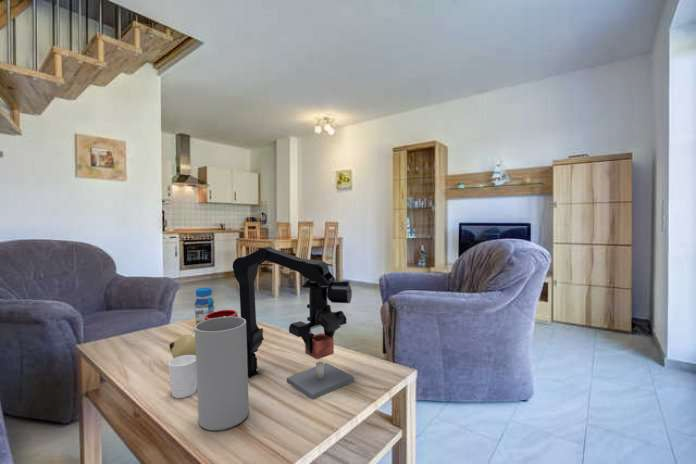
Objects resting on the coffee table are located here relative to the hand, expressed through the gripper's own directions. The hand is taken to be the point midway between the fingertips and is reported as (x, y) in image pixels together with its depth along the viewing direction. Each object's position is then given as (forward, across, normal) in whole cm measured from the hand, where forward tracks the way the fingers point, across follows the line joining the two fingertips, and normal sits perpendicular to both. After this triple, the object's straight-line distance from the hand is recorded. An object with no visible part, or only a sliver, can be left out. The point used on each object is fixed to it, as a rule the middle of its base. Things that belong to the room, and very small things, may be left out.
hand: (319, 350), depth 107 cm
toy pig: (+10, -27, +45) cm, 53 cm away
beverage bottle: (+10, -10, +76) cm, 77 cm away
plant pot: (+10, -9, +58) cm, 60 cm away
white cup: (+10, -34, +23) cm, 42 cm away
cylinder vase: (+10, -30, +2) cm, 32 cm away
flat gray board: (+10, 0, 0) cm, 10 cm away
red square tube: (+1, 0, 0) cm, 1 cm away
